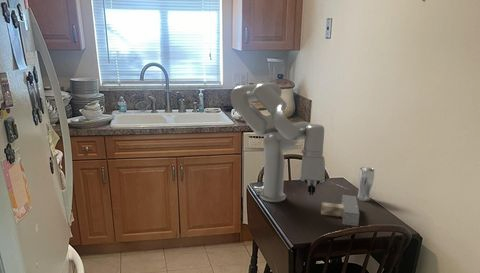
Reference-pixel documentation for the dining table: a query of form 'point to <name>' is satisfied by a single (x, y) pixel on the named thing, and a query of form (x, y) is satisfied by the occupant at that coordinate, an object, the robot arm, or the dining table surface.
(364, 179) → the beer glass
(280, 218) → the dining table surface
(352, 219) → the housing
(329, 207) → the bar
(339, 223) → the dining table surface
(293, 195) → the dining table surface
